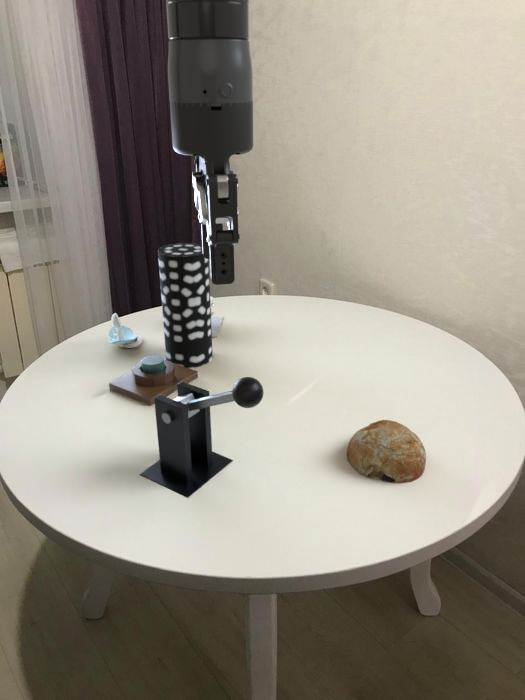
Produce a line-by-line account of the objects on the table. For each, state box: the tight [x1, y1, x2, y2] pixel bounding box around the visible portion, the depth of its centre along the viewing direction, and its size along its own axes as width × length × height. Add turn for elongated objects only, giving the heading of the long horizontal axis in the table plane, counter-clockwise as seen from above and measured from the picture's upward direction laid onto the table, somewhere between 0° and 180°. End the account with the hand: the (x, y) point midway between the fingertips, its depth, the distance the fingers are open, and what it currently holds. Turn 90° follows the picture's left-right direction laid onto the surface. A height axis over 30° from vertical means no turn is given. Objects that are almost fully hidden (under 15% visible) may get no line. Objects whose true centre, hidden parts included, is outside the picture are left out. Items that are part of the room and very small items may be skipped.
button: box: [140, 354, 165, 374], centre depth 94 cm, size 4×4×2 cm
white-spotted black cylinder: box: [157, 242, 214, 369], centre depth 102 cm, size 8×8×20 cm
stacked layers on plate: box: [210, 295, 224, 338], centre depth 118 cm, size 10×9×6 cm
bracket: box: [139, 382, 234, 499], centre depth 73 cm, size 8×9×12 cm
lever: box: [172, 376, 264, 418], centre depth 67 cm, size 14×3×3 cm, turn 56°
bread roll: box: [345, 419, 427, 484], centre depth 76 cm, size 10×10×8 cm
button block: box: [108, 358, 199, 407], centre depth 95 cm, size 11×9×4 cm
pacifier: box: [108, 312, 143, 349], centre depth 110 cm, size 7×6×6 cm
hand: (217, 269), depth 60 cm, fingers open, 8 cm apart
